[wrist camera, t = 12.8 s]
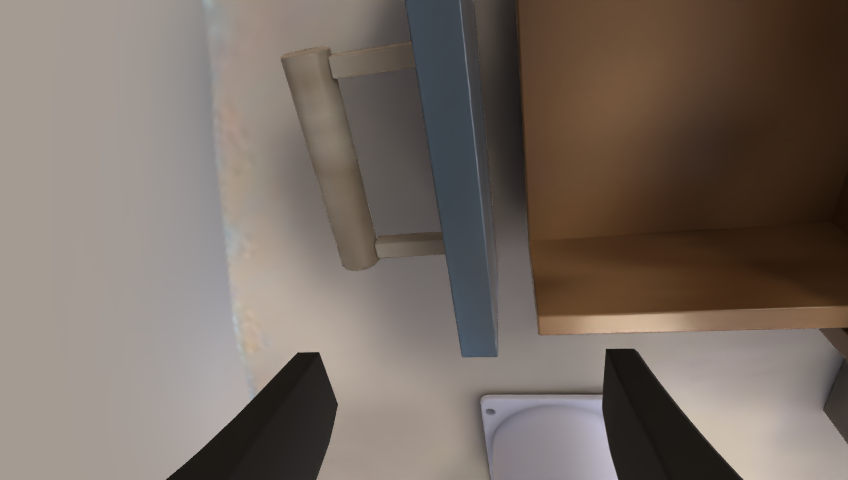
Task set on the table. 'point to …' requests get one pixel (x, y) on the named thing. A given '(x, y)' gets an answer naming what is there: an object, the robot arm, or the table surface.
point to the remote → (839, 402)
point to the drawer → (620, 162)
